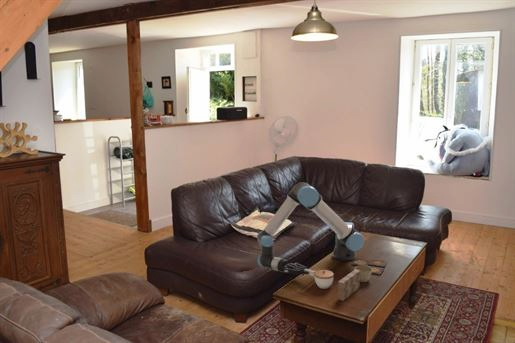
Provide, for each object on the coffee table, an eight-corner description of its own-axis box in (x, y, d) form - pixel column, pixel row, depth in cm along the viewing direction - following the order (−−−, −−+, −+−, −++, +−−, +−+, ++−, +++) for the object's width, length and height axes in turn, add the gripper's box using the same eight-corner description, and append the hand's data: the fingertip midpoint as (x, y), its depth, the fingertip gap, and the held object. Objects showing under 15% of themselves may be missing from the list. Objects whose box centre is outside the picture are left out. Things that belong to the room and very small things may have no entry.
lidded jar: (333, 290, 248) (333, 274, 246) (314, 290, 250) (313, 274, 248) (333, 282, 258) (333, 267, 257) (314, 281, 260) (314, 266, 259)
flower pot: (372, 277, 264) (373, 266, 263) (371, 284, 255) (371, 272, 253) (355, 276, 267) (355, 264, 266) (353, 282, 258) (353, 270, 257)
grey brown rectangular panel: (354, 286, 253) (355, 269, 252) (359, 287, 252) (360, 270, 250) (338, 299, 238) (338, 281, 236) (343, 300, 236) (343, 282, 234)
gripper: (286, 267, 276) (320, 276, 261) (274, 274, 266) (308, 284, 251) (286, 255, 274) (320, 263, 260) (274, 262, 264) (308, 271, 250)
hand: (314, 273), depth 256 cm, fingers closed
